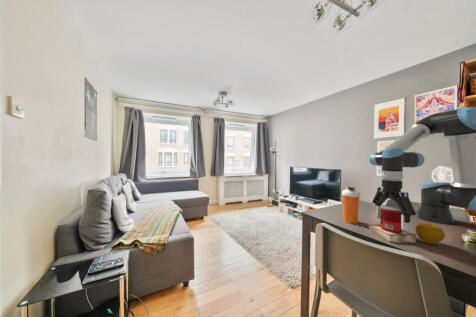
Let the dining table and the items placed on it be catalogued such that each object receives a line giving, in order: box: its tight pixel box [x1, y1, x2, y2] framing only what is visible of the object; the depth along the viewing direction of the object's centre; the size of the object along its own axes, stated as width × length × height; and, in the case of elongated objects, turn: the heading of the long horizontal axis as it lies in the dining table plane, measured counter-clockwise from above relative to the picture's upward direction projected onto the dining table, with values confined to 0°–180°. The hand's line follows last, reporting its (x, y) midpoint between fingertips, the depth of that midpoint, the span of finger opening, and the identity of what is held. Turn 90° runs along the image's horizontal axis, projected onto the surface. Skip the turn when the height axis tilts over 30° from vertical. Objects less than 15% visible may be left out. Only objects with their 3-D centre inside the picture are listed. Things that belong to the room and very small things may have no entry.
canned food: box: [379, 204, 403, 233], centre depth 84 cm, size 8×8×11 cm
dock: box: [368, 224, 417, 243], centre depth 84 cm, size 12×12×3 cm
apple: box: [415, 222, 446, 245], centre depth 77 cm, size 9×9×9 cm
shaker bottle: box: [341, 186, 361, 225], centre depth 103 cm, size 9×9×20 cm
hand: (391, 223), depth 84 cm, fingers open, 13 cm apart
